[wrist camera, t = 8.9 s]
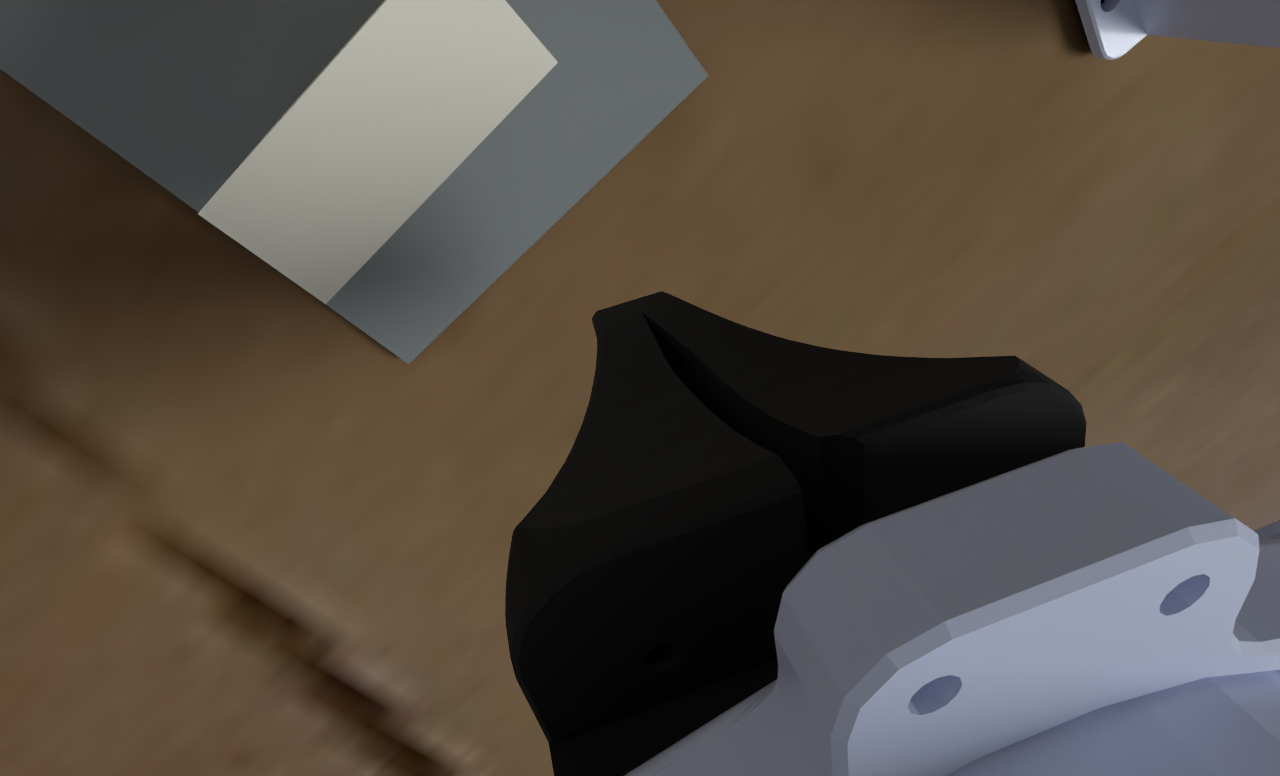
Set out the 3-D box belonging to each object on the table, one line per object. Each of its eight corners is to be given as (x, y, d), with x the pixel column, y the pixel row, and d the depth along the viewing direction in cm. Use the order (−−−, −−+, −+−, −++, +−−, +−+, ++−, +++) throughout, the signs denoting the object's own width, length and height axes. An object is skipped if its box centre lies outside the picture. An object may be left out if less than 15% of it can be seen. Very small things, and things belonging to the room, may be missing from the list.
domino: (503, 23, 13) (558, 62, 8) (358, 177, 13) (325, 304, 8) (433, -56, 12) (447, -69, 7) (283, 114, 12) (197, 213, 8)
